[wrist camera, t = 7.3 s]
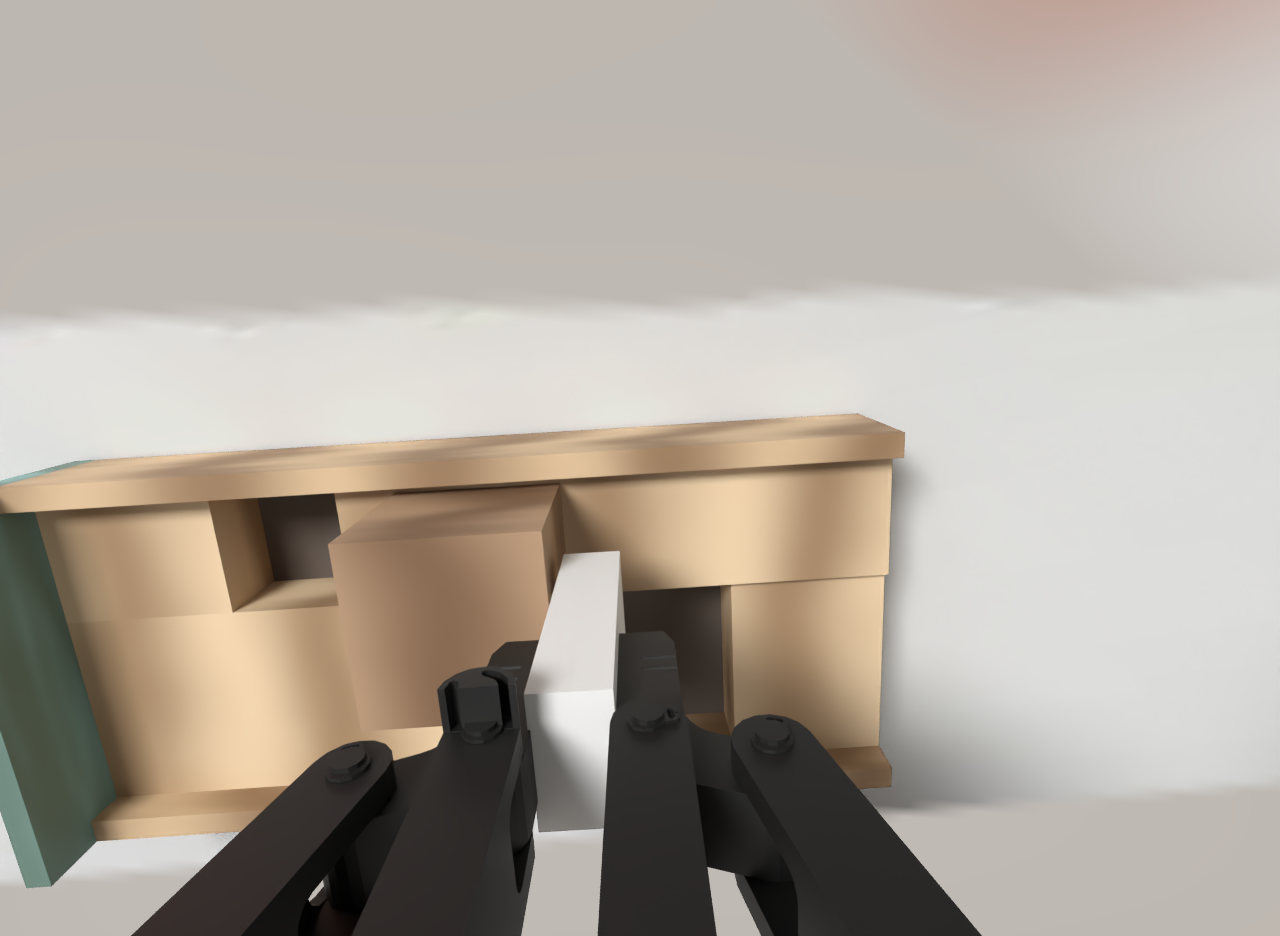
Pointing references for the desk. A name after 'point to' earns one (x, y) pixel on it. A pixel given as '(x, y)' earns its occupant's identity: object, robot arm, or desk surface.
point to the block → (441, 590)
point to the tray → (311, 622)
